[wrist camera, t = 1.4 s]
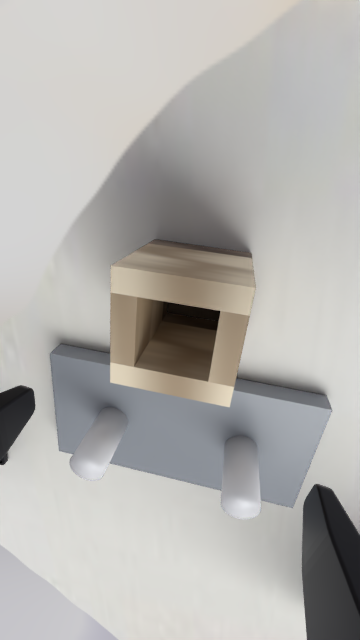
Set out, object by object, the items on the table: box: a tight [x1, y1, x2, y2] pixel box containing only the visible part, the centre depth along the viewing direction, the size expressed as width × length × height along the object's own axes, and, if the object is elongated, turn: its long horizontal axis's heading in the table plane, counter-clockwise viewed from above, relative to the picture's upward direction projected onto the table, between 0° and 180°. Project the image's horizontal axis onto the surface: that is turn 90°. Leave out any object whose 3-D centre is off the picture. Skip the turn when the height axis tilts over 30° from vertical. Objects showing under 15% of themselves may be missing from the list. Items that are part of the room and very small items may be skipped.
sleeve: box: [110, 239, 256, 407], centre depth 17 cm, size 6×6×7 cm
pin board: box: [50, 344, 332, 519], centre depth 22 cm, size 20×10×6 cm, turn 84°
